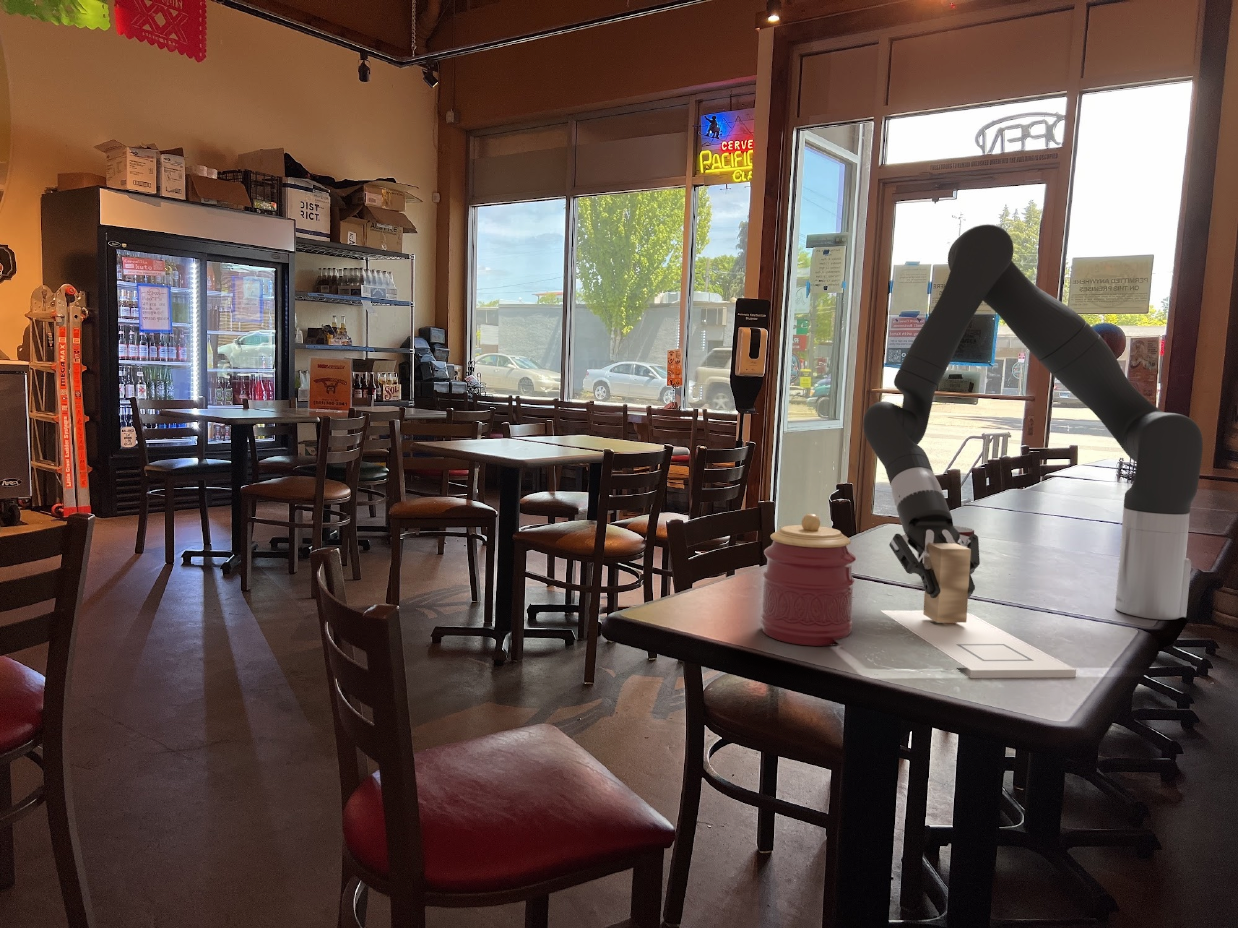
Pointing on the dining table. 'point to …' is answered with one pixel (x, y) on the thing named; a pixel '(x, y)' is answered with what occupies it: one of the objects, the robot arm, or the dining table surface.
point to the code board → (982, 647)
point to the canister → (808, 585)
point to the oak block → (949, 583)
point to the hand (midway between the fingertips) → (952, 594)
